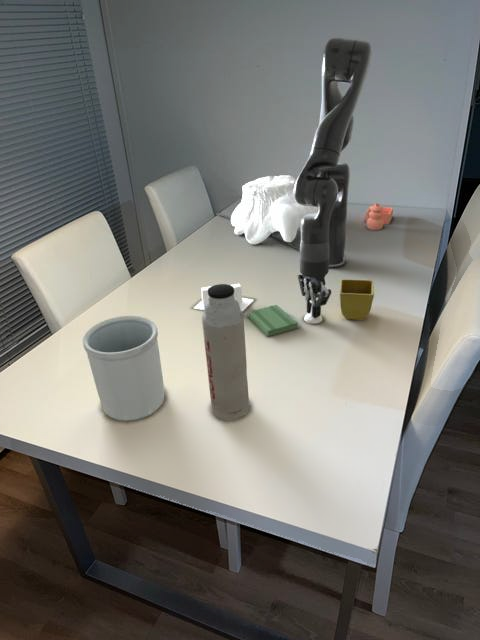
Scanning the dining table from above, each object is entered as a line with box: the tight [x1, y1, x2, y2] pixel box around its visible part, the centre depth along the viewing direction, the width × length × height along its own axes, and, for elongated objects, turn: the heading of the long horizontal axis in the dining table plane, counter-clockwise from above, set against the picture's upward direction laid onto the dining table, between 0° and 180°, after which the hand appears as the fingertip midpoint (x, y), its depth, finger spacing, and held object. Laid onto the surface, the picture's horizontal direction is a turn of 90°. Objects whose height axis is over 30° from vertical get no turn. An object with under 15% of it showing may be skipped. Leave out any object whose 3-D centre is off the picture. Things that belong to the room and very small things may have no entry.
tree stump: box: [230, 174, 319, 245], centre depth 197 cm, size 40×37×23 cm
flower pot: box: [339, 278, 375, 321], centre depth 132 cm, size 9×9×9 cm
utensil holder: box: [82, 315, 165, 422], centre depth 103 cm, size 15×15×18 cm
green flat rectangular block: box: [247, 304, 299, 337], centre depth 134 cm, size 12×9×2 cm
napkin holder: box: [193, 283, 254, 312], centre depth 144 cm, size 15×11×6 cm
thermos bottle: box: [201, 283, 250, 421], centre depth 97 cm, size 8×8×28 cm
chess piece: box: [303, 299, 323, 325], centre depth 132 cm, size 5×5×10 cm
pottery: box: [365, 202, 394, 231], centre depth 199 cm, size 18×10×10 cm, turn 157°
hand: (313, 314), depth 134 cm, fingers closed on chess piece, 2 cm apart
